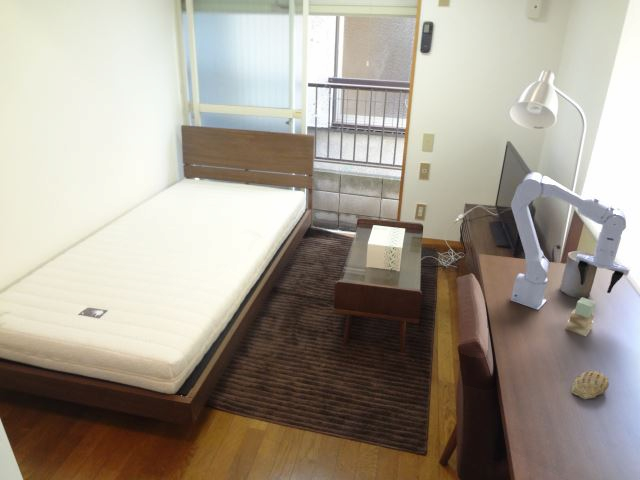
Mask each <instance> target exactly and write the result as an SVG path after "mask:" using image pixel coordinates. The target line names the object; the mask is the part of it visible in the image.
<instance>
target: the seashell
mask: <svg viewBox="0 0 640 480" xmlns="http://www.w3.org/2000/svg"><path fill="white" fill-rule="evenodd" d="M571 385H572V386H571V389H570V392H571V394H573V395H576V396H578V397H580V398H582V399H584V400H588V399H595V398H596V397H597V396H600V395H601V394H604V393H605V392H606V391H607V390H608V389H609V386H610V381H609V378H608V377H607V376H606V375H605V374H603V373H601V371H596V370H590V369H589V370H587V371H584V372H582V373H580V374H579V375H577V377H576V378H575V379H574V380H573V382H572V384H571Z"/></svg>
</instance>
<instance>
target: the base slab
mask: <svg viewBox="0 0 640 480" xmlns="http://www.w3.org/2000/svg"><path fill="white" fill-rule="evenodd" d="M593 325H594V320H593V321H592V322H591V323H590V324H589V325H588V326H587V327H583V326H581V325H578V324H576V323H574V322H571V321H569V319H568V320H567V321H566V326H565V330H567V331H570V332H573V333H574V334H575V333H576V334H579V335H581V336H584V337H587V336H588V335H589V333H590V332H591V330H592V328H593Z"/></svg>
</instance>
